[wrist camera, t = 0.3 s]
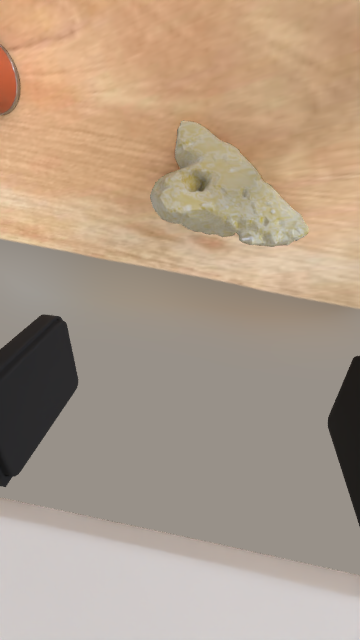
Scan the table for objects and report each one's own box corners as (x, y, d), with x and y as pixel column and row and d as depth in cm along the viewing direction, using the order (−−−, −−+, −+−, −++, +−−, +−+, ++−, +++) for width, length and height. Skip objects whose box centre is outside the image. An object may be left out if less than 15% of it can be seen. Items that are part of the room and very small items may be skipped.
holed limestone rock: (144, 171, 37) (161, 280, 34) (139, 120, 30) (159, 254, 27) (259, 159, 38) (285, 264, 35) (281, 108, 31) (315, 234, 28)
